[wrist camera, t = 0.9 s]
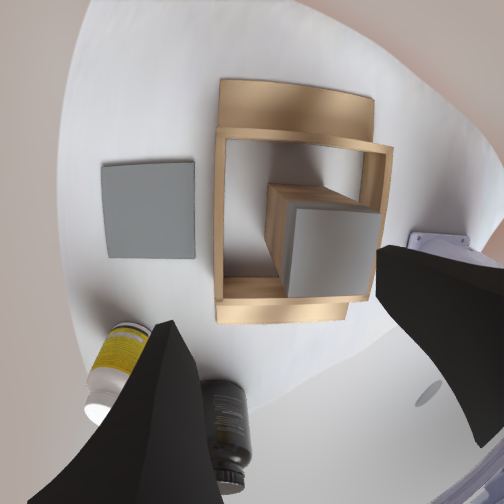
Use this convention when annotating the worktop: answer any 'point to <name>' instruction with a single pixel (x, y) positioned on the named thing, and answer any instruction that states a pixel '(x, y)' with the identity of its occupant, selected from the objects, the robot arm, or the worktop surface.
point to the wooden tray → (305, 132)
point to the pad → (149, 210)
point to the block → (320, 240)
